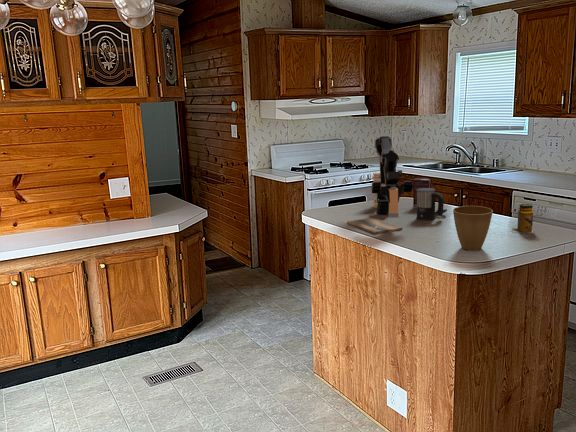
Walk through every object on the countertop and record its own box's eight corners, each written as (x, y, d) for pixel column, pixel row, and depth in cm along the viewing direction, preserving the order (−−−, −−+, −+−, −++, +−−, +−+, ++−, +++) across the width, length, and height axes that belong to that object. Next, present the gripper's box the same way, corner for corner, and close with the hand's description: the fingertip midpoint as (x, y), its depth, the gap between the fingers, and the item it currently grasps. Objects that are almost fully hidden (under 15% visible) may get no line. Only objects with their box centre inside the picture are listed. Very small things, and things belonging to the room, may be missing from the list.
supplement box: (430, 207, 294) (430, 178, 290) (428, 209, 290) (429, 180, 286) (414, 206, 297) (414, 178, 294) (412, 208, 293) (412, 179, 290)
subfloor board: (373, 219, 272) (373, 217, 272) (402, 229, 249) (402, 227, 249) (347, 223, 266) (347, 221, 266) (374, 234, 244) (374, 232, 244)
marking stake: (388, 215, 251) (388, 186, 248) (397, 215, 251) (397, 185, 247) (389, 217, 247) (389, 187, 244) (398, 217, 247) (398, 187, 244)
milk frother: (414, 219, 267) (414, 190, 264) (420, 213, 281) (420, 185, 278) (443, 221, 262) (444, 191, 258) (448, 214, 276) (448, 186, 272)
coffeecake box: (384, 208, 296) (384, 173, 291) (372, 207, 300) (372, 173, 295) (395, 203, 308) (395, 169, 304) (383, 202, 312) (383, 169, 307)
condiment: (533, 233, 234) (535, 206, 231) (512, 232, 236) (514, 206, 234) (531, 229, 240) (533, 203, 238) (511, 228, 243) (512, 202, 240)
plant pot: (445, 245, 222) (446, 207, 218) (477, 241, 225) (478, 204, 221) (464, 255, 207) (465, 215, 204) (498, 251, 211) (500, 211, 207)
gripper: (371, 165, 248) (374, 193, 240) (412, 163, 247) (416, 191, 238) (370, 179, 257) (372, 206, 249) (409, 177, 256) (413, 205, 248)
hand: (393, 202), depth 246 cm, fingers closed on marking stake, 4 cm apart
